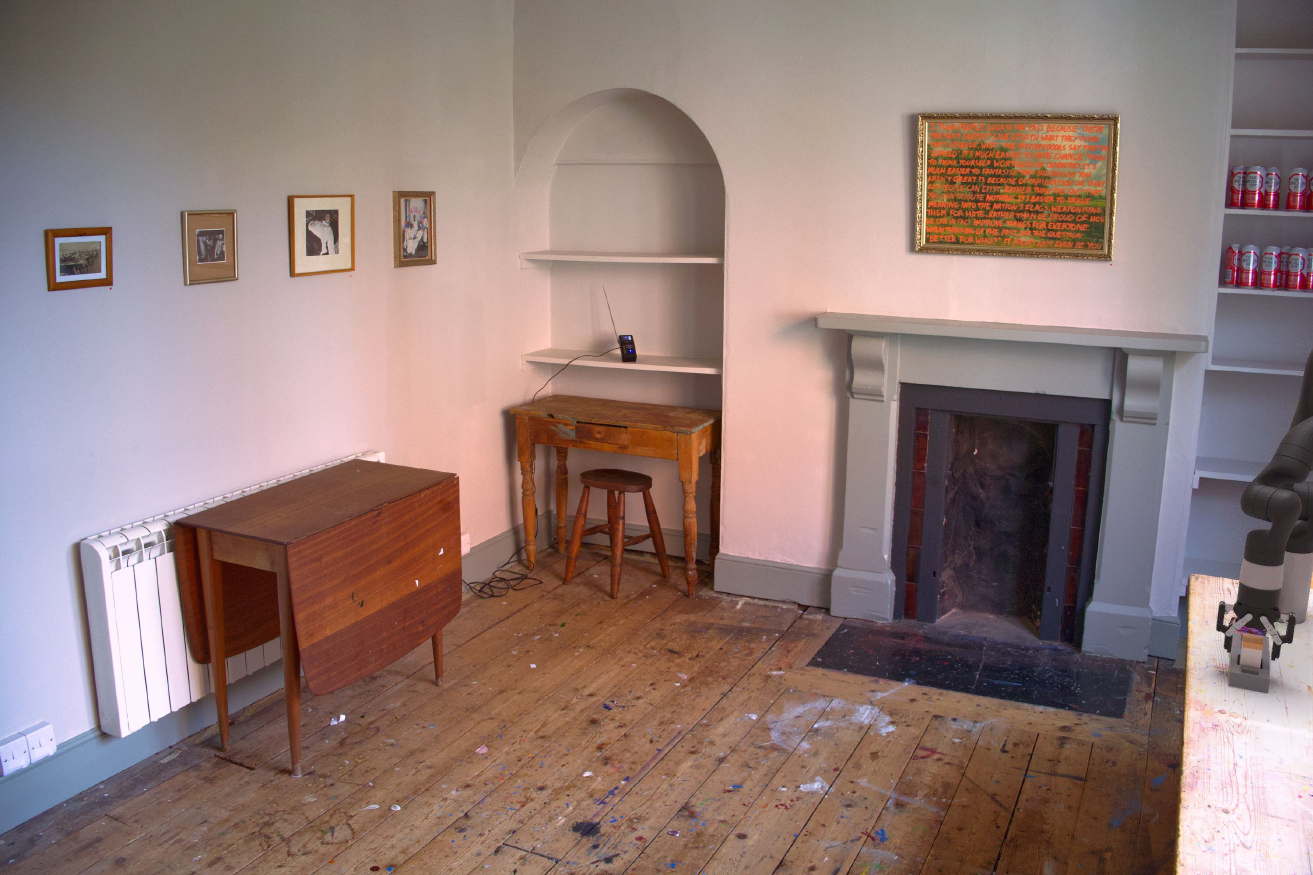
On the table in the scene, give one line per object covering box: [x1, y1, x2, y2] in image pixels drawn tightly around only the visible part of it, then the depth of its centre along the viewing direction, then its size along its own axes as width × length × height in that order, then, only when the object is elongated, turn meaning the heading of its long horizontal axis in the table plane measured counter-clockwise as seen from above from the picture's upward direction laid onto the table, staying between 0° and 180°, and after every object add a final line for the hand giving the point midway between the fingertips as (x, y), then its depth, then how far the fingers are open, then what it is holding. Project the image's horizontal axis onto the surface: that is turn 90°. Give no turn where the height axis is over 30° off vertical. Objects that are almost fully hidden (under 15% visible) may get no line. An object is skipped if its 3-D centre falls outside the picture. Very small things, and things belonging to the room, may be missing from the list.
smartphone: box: [1227, 616, 1268, 636], centre depth 238 cm, size 8×1×15 cm
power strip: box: [1228, 631, 1271, 694], centre depth 219 cm, size 22×7×5 cm, turn 151°
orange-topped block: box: [1239, 634, 1263, 669], centre depth 215 cm, size 4×4×8 cm
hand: (1250, 655), depth 215 cm, fingers open, 7 cm apart
